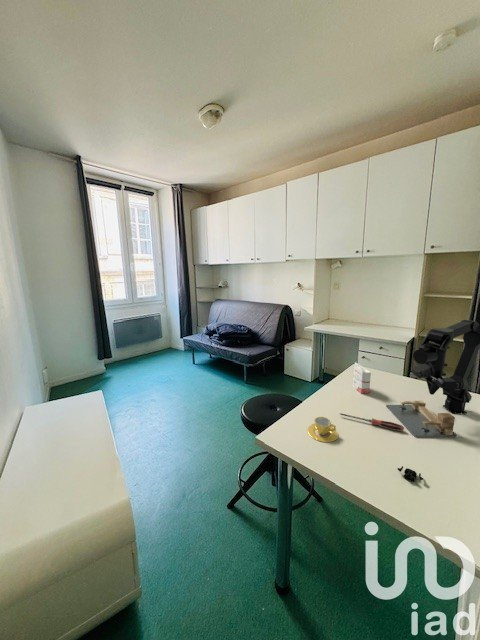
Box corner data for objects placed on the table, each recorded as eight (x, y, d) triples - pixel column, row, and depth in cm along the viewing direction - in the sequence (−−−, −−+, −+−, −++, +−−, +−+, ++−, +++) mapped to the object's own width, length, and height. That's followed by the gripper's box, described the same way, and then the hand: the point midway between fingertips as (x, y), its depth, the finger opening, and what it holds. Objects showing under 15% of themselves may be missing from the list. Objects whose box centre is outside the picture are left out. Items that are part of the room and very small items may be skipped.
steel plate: (420, 406, 122) (421, 404, 121) (456, 437, 100) (457, 434, 100) (386, 406, 123) (386, 404, 122) (414, 437, 101) (414, 434, 101)
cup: (305, 439, 103) (306, 427, 101) (309, 421, 113) (309, 410, 112) (337, 446, 98) (338, 433, 97) (338, 427, 109) (339, 416, 108)
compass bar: (419, 404, 121) (420, 398, 121) (455, 434, 100) (456, 427, 99) (396, 404, 122) (397, 398, 121) (427, 434, 101) (428, 427, 100)
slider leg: (447, 427, 104) (449, 413, 103) (452, 432, 101) (455, 417, 100) (420, 427, 105) (422, 413, 103) (425, 431, 102) (427, 417, 100)
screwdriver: (338, 418, 115) (339, 412, 114) (339, 415, 118) (339, 409, 117) (403, 434, 103) (404, 427, 103) (403, 429, 106) (404, 423, 105)
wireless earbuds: (424, 474, 82) (423, 479, 79) (423, 482, 82) (422, 487, 78) (399, 464, 87) (397, 468, 83) (398, 471, 87) (395, 476, 83)
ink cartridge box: (369, 393, 136) (372, 367, 132) (361, 393, 135) (362, 367, 132) (360, 385, 144) (362, 361, 141) (352, 386, 143) (353, 361, 140)
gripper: (403, 352, 116) (399, 384, 119) (431, 369, 97) (426, 406, 101) (428, 351, 115) (424, 384, 118) (462, 368, 97) (456, 406, 100)
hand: (431, 394), depth 109 cm, fingers closed
